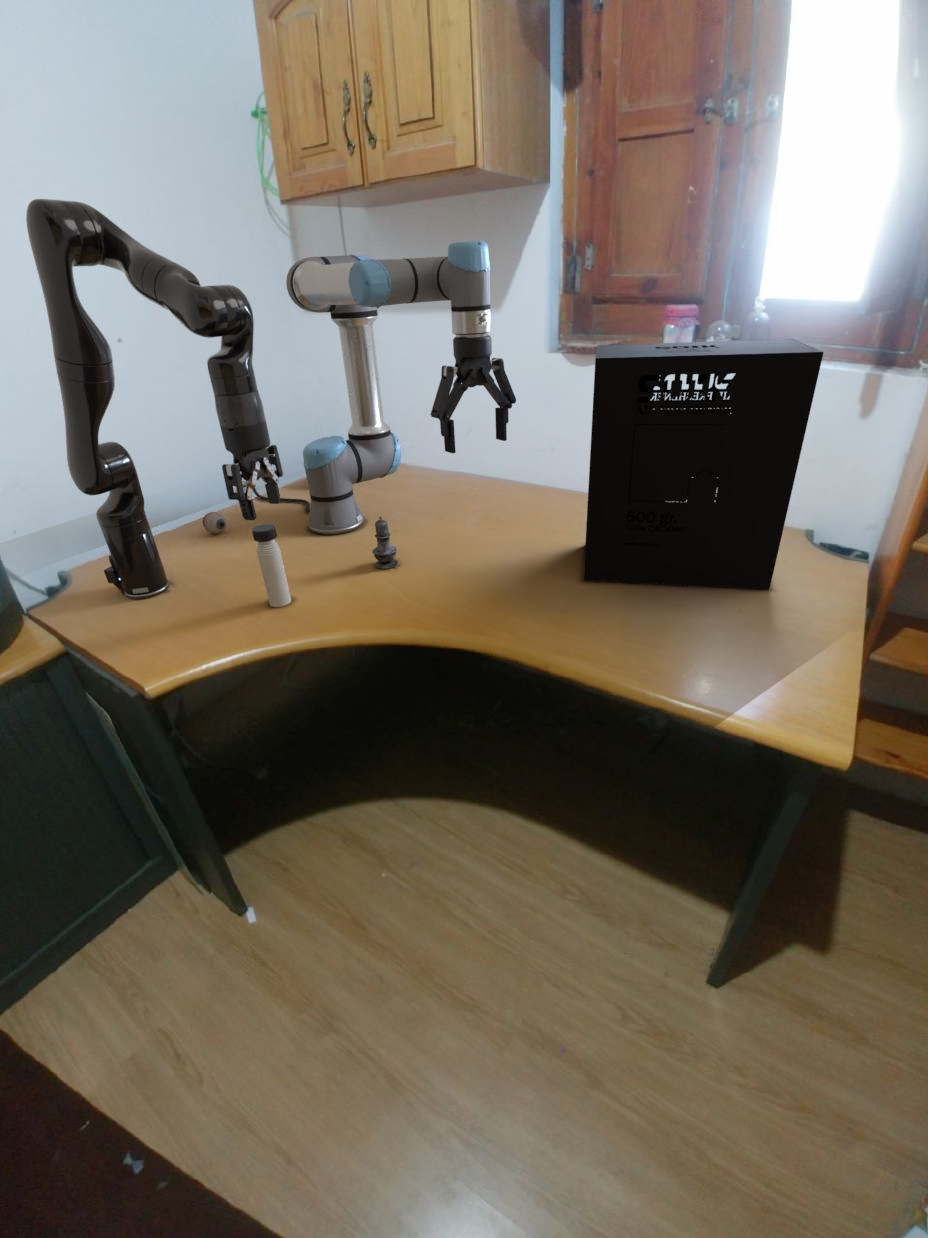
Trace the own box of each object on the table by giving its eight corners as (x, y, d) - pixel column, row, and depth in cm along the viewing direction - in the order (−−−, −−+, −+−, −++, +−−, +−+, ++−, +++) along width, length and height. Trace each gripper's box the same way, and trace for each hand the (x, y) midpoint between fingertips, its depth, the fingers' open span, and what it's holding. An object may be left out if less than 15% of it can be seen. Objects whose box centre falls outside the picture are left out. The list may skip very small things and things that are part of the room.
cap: (281, 536, 123) (279, 526, 122) (262, 543, 120) (259, 533, 119) (268, 532, 126) (266, 522, 125) (249, 539, 123) (247, 528, 122)
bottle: (295, 600, 131) (279, 528, 122) (277, 609, 128) (260, 535, 119) (283, 595, 133) (266, 523, 125) (265, 603, 130) (247, 530, 122)
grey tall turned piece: (394, 569, 142) (388, 521, 136) (370, 568, 143) (363, 520, 137) (401, 559, 147) (396, 512, 141) (378, 558, 148) (372, 511, 142)
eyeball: (216, 538, 165) (210, 517, 162) (201, 534, 168) (195, 514, 165) (233, 531, 169) (228, 510, 166) (219, 527, 172) (213, 507, 169)
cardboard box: (750, 549, 141) (792, 338, 119) (769, 589, 124) (823, 351, 101) (586, 544, 149) (597, 345, 126) (583, 580, 132) (595, 358, 109)
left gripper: (246, 411, 109) (265, 497, 117) (197, 429, 97) (222, 524, 105) (283, 411, 107) (300, 499, 115) (238, 429, 95) (260, 526, 103)
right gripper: (429, 342, 108) (437, 460, 118) (533, 329, 120) (532, 437, 131) (407, 340, 113) (417, 454, 124) (508, 328, 125) (510, 432, 136)
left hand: (263, 511), depth 110 cm, fingers open, 8 cm apart
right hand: (476, 445), depth 127 cm, fingers open, 13 cm apart
